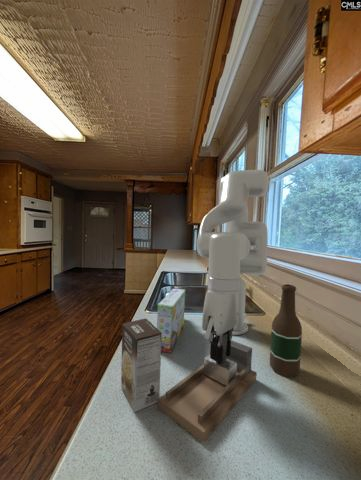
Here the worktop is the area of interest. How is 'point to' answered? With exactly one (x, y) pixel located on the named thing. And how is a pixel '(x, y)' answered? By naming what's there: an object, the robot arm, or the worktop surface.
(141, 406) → the coffee box
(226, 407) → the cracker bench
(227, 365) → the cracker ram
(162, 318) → the snack box
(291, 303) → the beer bottle
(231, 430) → the worktop surface
